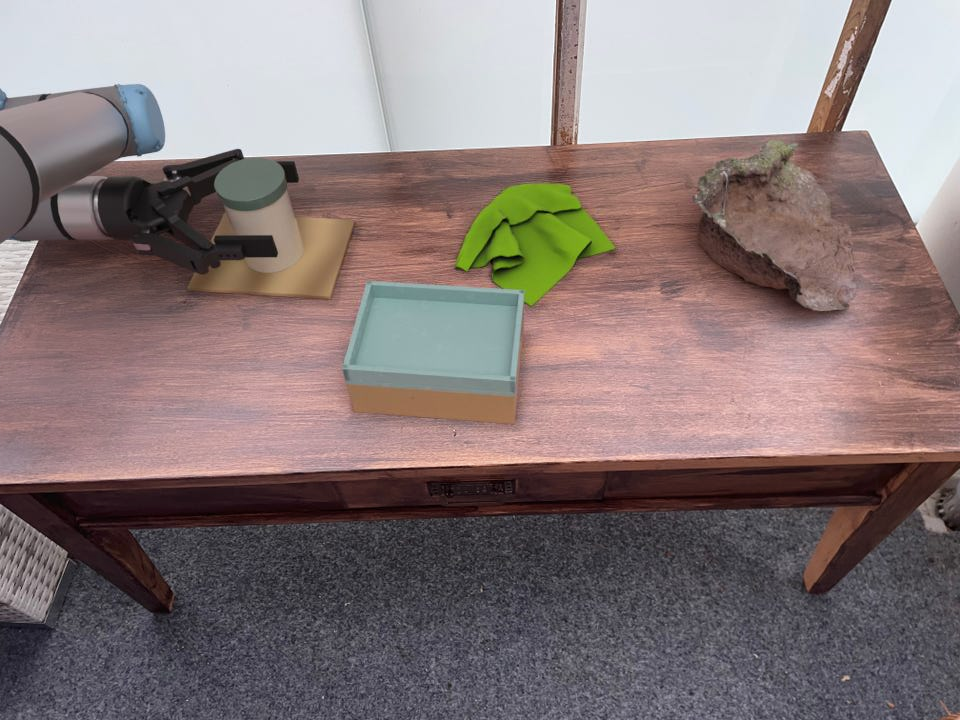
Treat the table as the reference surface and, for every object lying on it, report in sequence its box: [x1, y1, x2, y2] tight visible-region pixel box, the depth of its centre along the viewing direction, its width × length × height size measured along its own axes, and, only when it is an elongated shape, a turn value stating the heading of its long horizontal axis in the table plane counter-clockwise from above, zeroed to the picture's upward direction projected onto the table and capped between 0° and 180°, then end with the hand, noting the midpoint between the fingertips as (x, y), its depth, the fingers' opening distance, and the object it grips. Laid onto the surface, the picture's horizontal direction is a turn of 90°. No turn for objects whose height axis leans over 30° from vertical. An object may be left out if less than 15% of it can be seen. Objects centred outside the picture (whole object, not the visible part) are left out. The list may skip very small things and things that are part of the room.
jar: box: [214, 157, 304, 273], centre depth 88 cm, size 8×8×12 cm
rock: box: [692, 139, 858, 312], centre depth 87 cm, size 26×22×10 cm
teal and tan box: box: [341, 280, 525, 425], centre depth 77 cm, size 17×12×8 cm
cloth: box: [454, 182, 617, 307], centre depth 92 cm, size 20×22×2 cm
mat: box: [187, 212, 356, 300], centre depth 92 cm, size 18×14×1 cm
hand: (286, 207), depth 86 cm, fingers open, 13 cm apart
